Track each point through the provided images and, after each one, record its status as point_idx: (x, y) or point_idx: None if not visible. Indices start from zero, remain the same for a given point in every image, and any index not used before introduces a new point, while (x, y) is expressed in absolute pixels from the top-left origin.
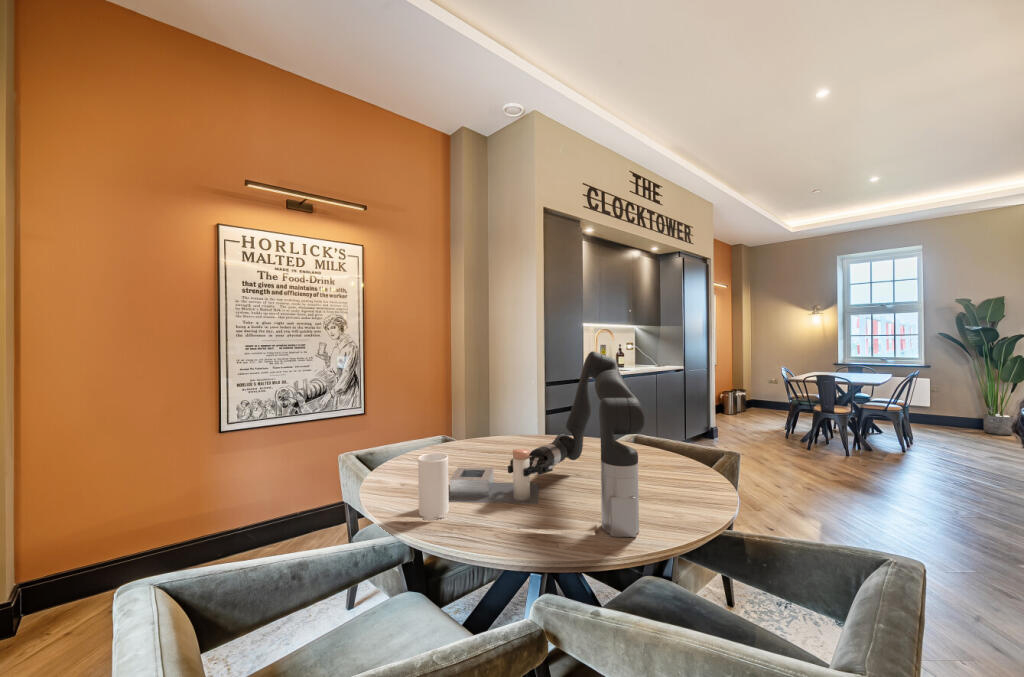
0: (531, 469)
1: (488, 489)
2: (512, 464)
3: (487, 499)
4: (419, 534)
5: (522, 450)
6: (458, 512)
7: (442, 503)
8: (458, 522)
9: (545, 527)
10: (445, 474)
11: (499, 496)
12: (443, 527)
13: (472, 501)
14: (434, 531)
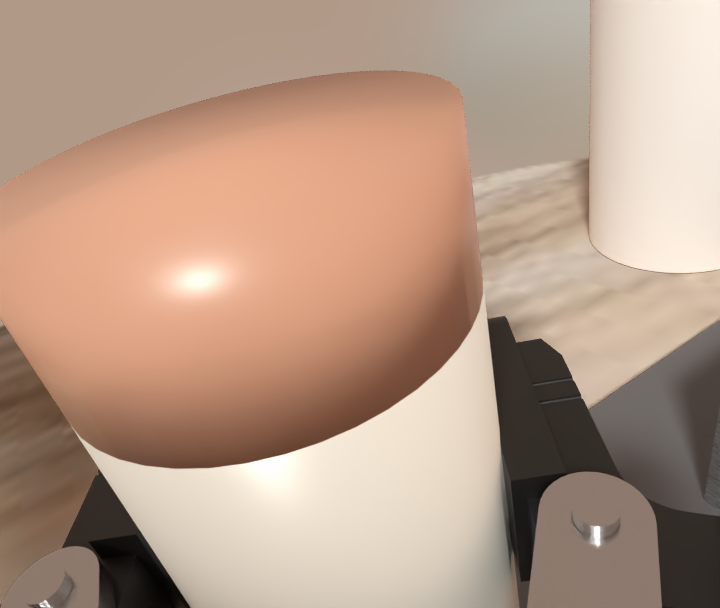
0: (95, 487)
1: (715, 446)
2: (509, 383)
3: (640, 453)
4: (520, 180)
5: (189, 166)
6: (613, 298)
7: (591, 167)
8: (498, 265)
9: (60, 471)
10: (602, 6)
11: None
12: (504, 225)
13: (677, 365)
14: (500, 205)
